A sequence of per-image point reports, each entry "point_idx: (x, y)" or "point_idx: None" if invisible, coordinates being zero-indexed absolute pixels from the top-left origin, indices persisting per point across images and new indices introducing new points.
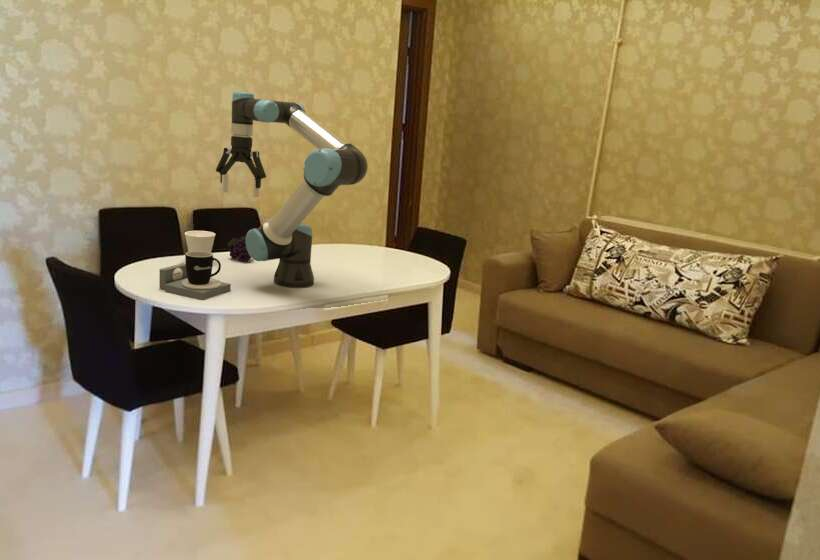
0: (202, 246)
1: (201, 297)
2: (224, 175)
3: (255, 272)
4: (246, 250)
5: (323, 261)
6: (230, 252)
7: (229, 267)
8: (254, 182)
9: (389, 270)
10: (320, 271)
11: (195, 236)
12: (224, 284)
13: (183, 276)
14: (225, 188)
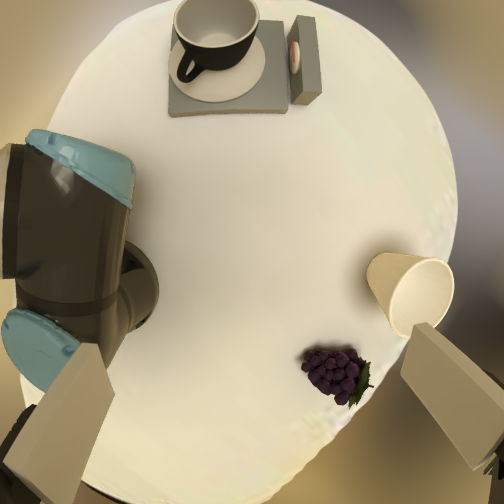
0: (390, 270)
1: None
2: (501, 425)
3: (237, 300)
4: (318, 370)
5: (198, 444)
6: (355, 354)
7: (314, 294)
8: (21, 437)
9: None
10: (147, 392)
11: (418, 261)
12: (177, 99)
13: (294, 81)
14: (423, 366)
